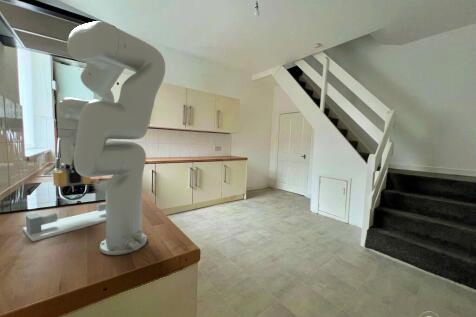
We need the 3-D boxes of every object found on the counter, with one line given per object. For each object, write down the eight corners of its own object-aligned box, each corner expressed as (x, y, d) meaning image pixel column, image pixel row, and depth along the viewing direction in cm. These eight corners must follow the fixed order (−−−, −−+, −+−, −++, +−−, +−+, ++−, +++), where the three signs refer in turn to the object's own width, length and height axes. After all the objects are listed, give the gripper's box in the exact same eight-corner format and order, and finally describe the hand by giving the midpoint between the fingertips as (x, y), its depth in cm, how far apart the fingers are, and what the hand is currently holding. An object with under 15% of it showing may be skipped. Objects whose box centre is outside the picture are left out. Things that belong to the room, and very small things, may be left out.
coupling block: (90, 182, 80) (90, 167, 80) (58, 186, 72) (57, 170, 72) (85, 181, 83) (85, 166, 83) (53, 185, 75) (53, 169, 74)
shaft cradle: (124, 216, 83) (124, 202, 83) (32, 241, 61) (31, 222, 60) (110, 209, 90) (110, 196, 89) (23, 230, 67) (22, 212, 67)
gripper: (92, 135, 75) (93, 183, 76) (74, 135, 84) (76, 178, 85) (66, 133, 68) (68, 186, 70) (51, 134, 78) (52, 180, 79)
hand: (72, 181), depth 78 cm, fingers closed on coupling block, 5 cm apart
